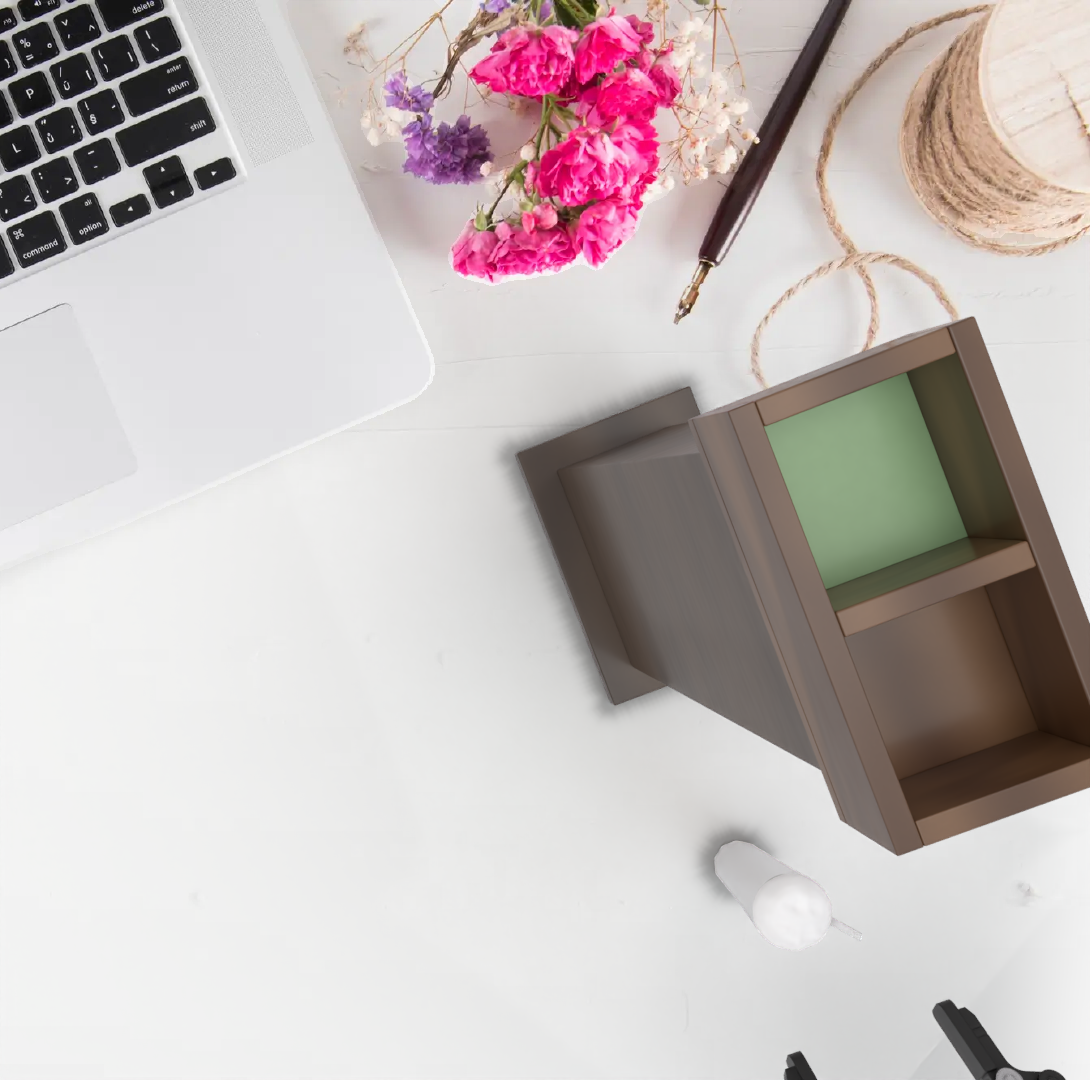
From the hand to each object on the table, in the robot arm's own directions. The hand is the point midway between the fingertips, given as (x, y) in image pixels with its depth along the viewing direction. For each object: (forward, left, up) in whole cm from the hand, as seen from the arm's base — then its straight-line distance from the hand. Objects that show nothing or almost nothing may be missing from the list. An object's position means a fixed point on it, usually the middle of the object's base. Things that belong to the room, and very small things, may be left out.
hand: (865, 1030), depth 57 cm
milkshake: (+2, -5, -12) cm, 13 cm away
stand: (+10, -26, -12) cm, 30 cm away
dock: (+10, -26, +16) cm, 32 cm away
